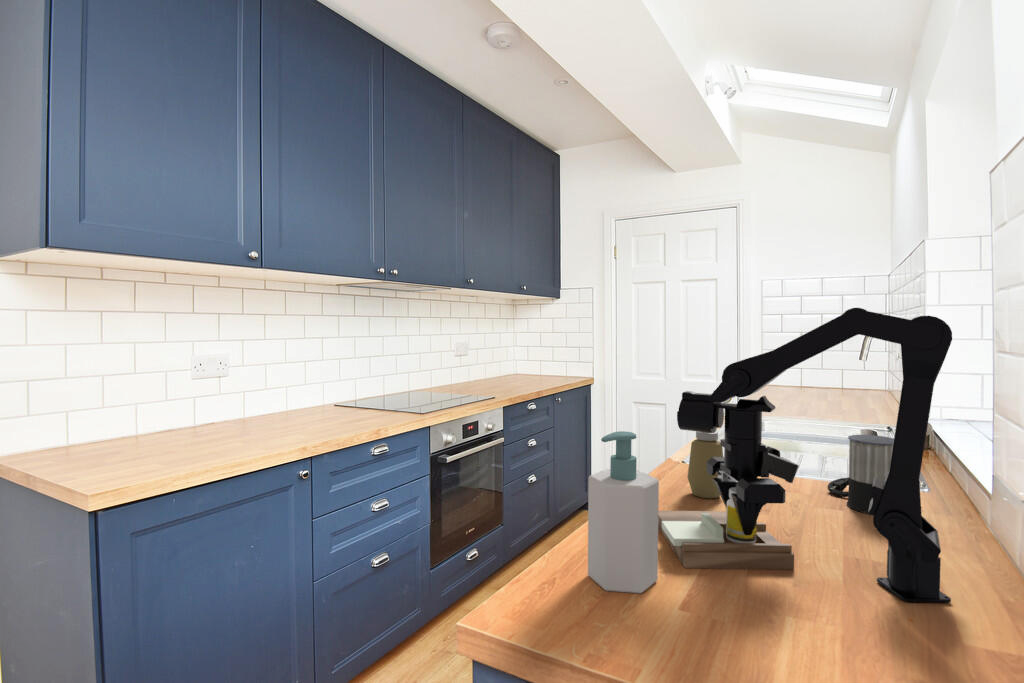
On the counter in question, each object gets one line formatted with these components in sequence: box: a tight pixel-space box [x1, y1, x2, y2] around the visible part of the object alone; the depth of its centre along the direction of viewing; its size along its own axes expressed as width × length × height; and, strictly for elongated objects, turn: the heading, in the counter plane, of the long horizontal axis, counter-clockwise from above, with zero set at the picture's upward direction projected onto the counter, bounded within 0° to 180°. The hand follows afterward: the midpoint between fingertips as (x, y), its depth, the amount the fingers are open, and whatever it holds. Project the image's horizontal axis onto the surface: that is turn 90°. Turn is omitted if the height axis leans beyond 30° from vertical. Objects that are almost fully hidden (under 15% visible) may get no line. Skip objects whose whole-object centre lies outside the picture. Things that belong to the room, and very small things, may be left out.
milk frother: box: [827, 434, 894, 514], centre depth 121 cm, size 14×16×15 cm
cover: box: [662, 513, 724, 546], centre depth 94 cm, size 8×8×3 cm
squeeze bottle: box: [687, 430, 724, 499], centre depth 126 cm, size 8×8×18 cm
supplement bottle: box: [725, 487, 758, 543], centre depth 94 cm, size 5×5×8 cm
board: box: [658, 510, 795, 570], centre depth 98 cm, size 20×17×3 cm
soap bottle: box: [587, 430, 660, 594], centre depth 84 cm, size 10×9×22 cm
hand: (741, 529), depth 94 cm, fingers closed on supplement bottle, 5 cm apart
